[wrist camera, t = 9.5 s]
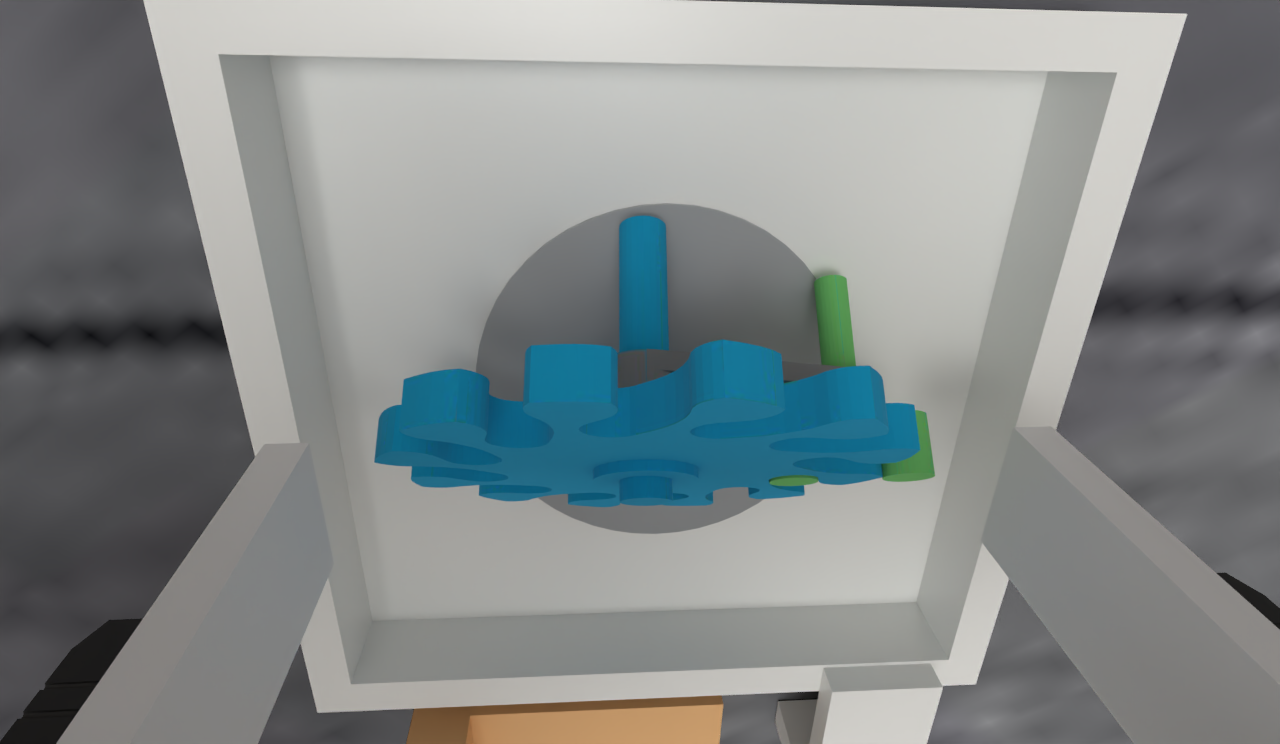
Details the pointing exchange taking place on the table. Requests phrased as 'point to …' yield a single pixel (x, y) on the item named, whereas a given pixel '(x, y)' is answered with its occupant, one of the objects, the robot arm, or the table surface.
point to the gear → (660, 412)
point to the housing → (697, 311)
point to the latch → (574, 722)
